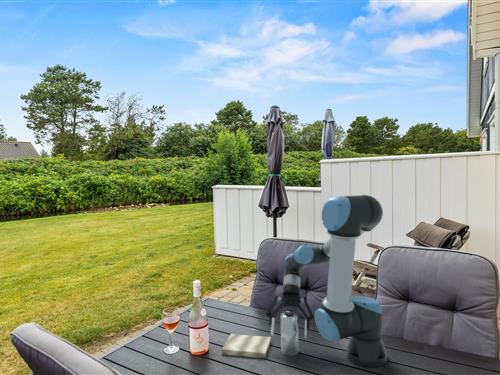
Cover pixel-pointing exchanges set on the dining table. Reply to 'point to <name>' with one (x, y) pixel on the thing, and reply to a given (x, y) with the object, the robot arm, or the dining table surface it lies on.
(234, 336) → the birch board
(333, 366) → the dining table surface
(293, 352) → the steel bottle
